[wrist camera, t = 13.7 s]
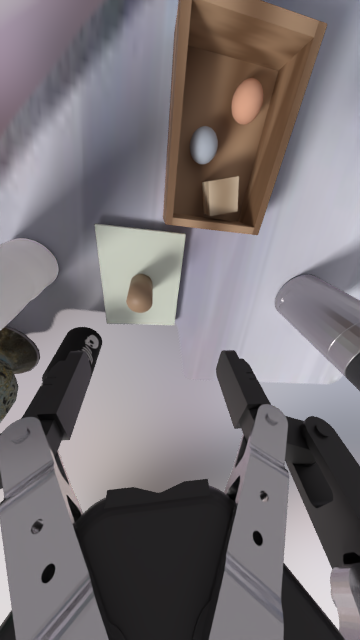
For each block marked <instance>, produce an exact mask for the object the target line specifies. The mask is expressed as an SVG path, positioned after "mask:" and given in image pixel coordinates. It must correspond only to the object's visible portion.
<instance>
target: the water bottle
mask: <svg viewBox="0 0 360 640" xmlns="http://www.w3.org/2000/svg"><path fill="white" fill-rule="evenodd" d="M58 271H59V268H58V263H57V261H56V259H55V257H54V256H53V254H52V253H51V252H50V251H49V250H48V249H47V248H46V247H45V246H43V245H42V244H40V243H38V242H36V241H33V240H30V239H25V238H18V239H13V240H10V241H7V242H5V243H3V244H1V245H0V330H2V329H3V328H4V327H5V326H6V325H7V324H8V323H9V322H10V321H11V320H12V319H14V318H15V317H16V316H17V315H18V314H19V313H20V312H21V311H22V310H23V308H24V307H25V306H26V305H27V304H28V303H29V301H31V300H33V299H34V298H36V297H37V296H38V295H39V294H40V293H41V292H42V291H43V290H44V288H46V287H47V286H49V285H50V284H51V283H52V282H53V281H54V280H55V279H56V278H57V276H58Z"/></svg>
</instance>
